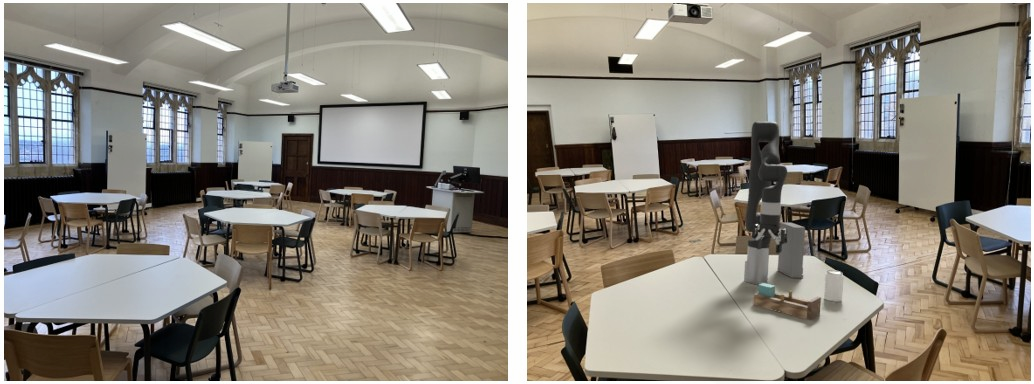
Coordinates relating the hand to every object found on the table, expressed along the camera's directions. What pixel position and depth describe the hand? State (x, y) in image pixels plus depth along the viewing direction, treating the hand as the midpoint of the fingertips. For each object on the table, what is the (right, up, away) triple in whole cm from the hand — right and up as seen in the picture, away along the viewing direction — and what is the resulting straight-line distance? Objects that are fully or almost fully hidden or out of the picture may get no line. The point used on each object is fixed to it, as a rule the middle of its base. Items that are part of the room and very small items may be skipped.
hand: (768, 251), depth 216 cm
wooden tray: (+3, -23, -8) cm, 24 cm away
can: (+29, -21, +4) cm, 36 cm away
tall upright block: (+31, -17, +43) cm, 56 cm away
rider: (-2, -19, -2) cm, 19 cm away
